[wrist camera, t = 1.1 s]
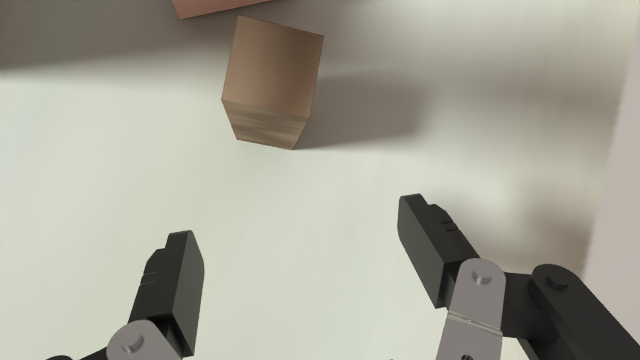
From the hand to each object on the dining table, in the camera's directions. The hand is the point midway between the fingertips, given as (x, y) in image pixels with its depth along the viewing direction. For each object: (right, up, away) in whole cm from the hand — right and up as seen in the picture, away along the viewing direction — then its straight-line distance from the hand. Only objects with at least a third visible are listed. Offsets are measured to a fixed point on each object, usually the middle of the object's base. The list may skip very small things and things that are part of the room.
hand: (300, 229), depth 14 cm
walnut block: (-4, +8, +18) cm, 20 cm away
